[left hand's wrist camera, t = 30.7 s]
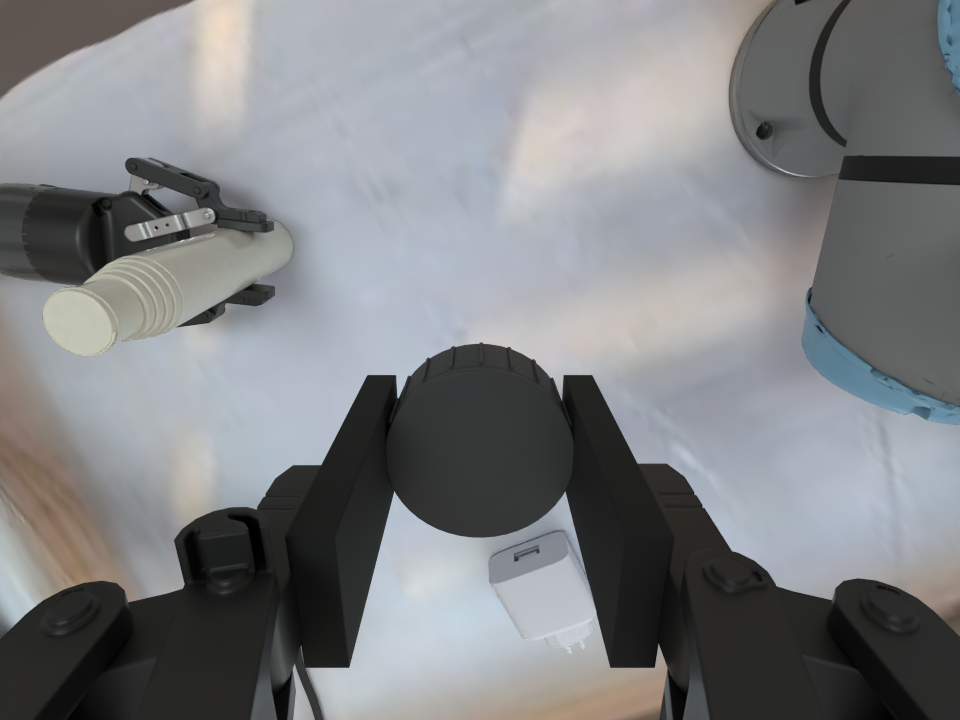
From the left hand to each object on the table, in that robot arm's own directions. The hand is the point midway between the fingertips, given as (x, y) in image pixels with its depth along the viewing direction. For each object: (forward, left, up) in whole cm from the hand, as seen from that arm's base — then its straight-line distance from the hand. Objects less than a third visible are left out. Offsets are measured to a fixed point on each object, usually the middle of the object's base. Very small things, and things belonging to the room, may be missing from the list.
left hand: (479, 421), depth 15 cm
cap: (0, 0, +2) cm, 2 cm away
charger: (+40, +14, -37) cm, 56 cm away
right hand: (+3, -17, -31) cm, 35 cm away
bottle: (+3, -19, -37) cm, 42 cm away
